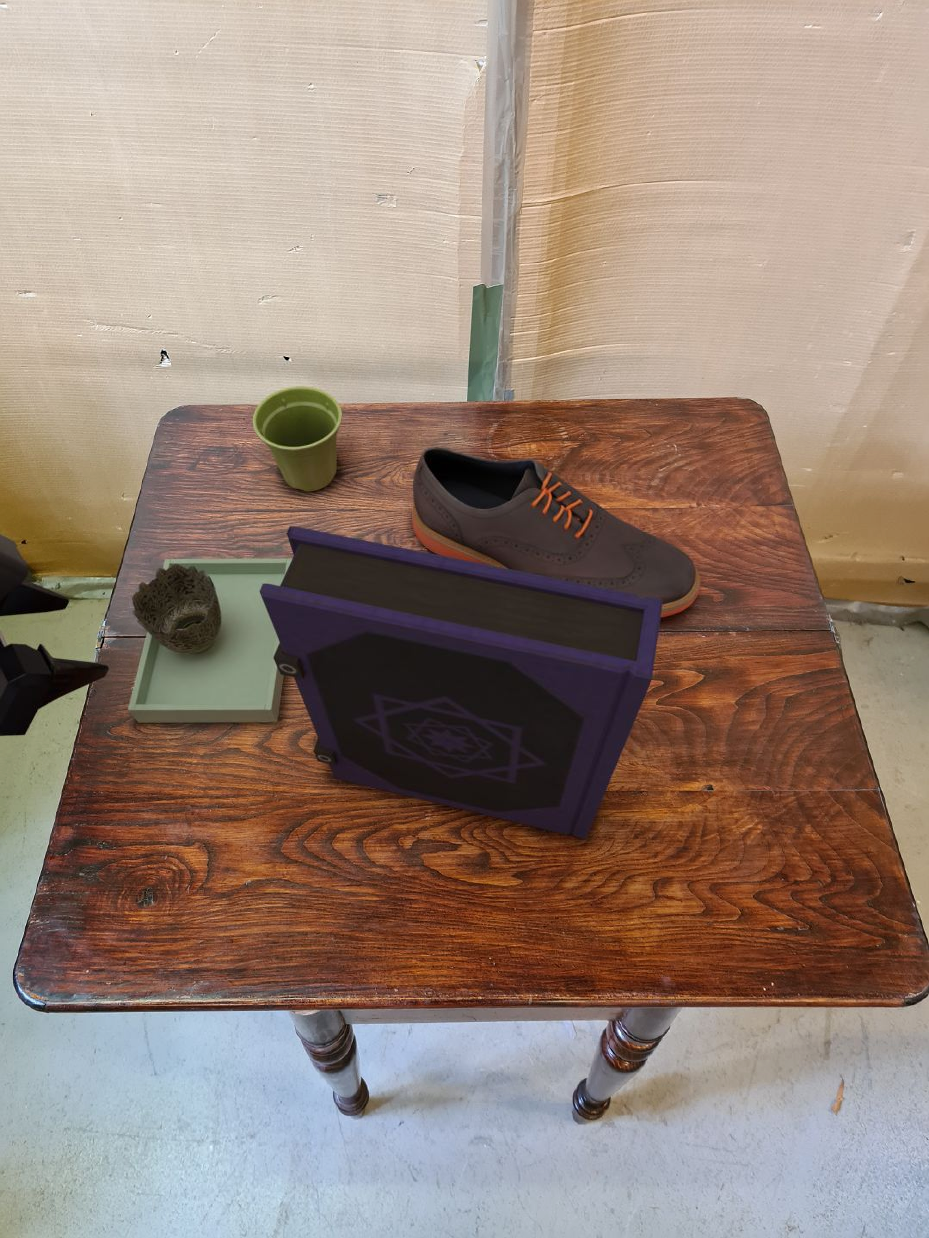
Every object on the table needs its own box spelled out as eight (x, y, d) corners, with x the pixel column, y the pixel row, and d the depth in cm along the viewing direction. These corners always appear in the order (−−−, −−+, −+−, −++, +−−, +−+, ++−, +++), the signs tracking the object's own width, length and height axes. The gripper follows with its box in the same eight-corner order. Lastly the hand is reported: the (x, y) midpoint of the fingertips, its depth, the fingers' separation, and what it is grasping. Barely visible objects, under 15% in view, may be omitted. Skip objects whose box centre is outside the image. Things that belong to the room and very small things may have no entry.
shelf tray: (138, 722, 75) (127, 710, 73) (173, 574, 84) (164, 558, 82) (277, 722, 75) (271, 709, 73) (297, 573, 84) (292, 558, 82)
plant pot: (330, 432, 95) (318, 375, 88) (365, 483, 91) (356, 427, 83) (257, 461, 93) (239, 405, 85) (289, 515, 88) (273, 461, 81)
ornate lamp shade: (191, 688, 76) (164, 646, 69) (145, 644, 79) (114, 599, 72) (251, 638, 79) (231, 593, 72) (205, 597, 82) (181, 550, 75)
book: (596, 777, 72) (664, 592, 46) (584, 844, 69) (651, 684, 43) (348, 720, 75) (286, 517, 50) (326, 781, 72) (247, 598, 46)
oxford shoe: (679, 652, 79) (708, 588, 69) (391, 563, 85) (380, 492, 75) (702, 567, 84) (732, 496, 75) (430, 489, 90) (425, 414, 81)
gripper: (-46, 616, 50) (172, 634, 62) (-119, 458, 59) (84, 501, 71) (-105, 745, 53) (113, 737, 66) (-166, 576, 62) (36, 598, 75)
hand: (86, 636), depth 69 cm, fingers open, 9 cm apart
